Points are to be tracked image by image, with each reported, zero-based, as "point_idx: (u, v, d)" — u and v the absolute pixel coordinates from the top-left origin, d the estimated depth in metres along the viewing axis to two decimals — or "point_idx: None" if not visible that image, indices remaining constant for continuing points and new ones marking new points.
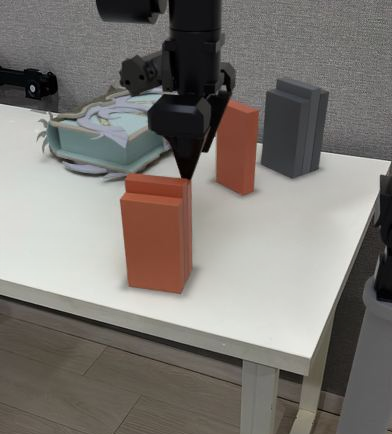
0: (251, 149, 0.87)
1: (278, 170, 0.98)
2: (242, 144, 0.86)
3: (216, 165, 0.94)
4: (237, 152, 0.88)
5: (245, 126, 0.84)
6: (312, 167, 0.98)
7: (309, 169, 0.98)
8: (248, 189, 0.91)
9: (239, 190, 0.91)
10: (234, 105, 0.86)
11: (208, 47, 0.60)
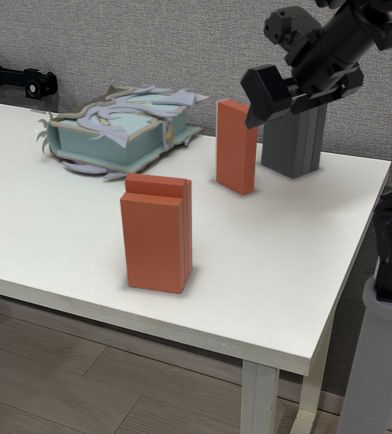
0: (251, 149, 0.87)
1: (278, 170, 0.98)
2: (242, 144, 0.86)
3: (216, 165, 0.94)
4: (237, 152, 0.88)
5: (245, 126, 0.84)
6: (312, 167, 0.98)
7: (309, 169, 0.98)
8: (248, 189, 0.91)
9: (239, 190, 0.91)
10: (234, 105, 0.86)
11: (329, 69, 0.67)
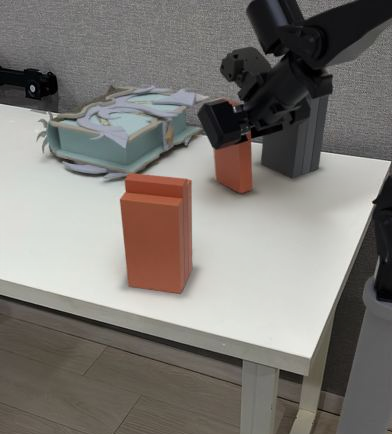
0: (245, 146, 0.87)
1: (278, 170, 0.98)
2: None
3: (215, 165, 0.94)
4: (232, 150, 0.88)
5: None
6: (312, 167, 0.98)
7: (309, 169, 0.98)
8: (246, 187, 0.91)
9: (237, 188, 0.91)
10: None
11: (273, 108, 0.77)
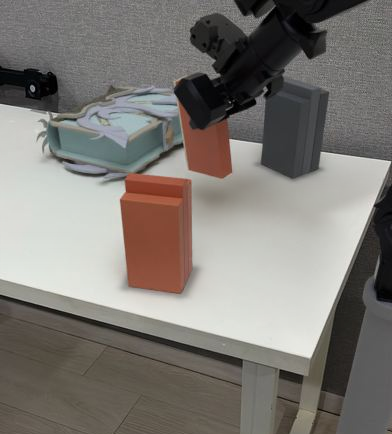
0: (222, 126, 0.78)
1: (278, 170, 0.98)
2: None
3: (186, 153, 0.85)
4: (208, 132, 0.79)
5: None
6: (312, 167, 0.98)
7: (309, 169, 0.98)
8: (226, 171, 0.83)
9: (216, 173, 0.83)
10: None
11: (259, 76, 0.69)
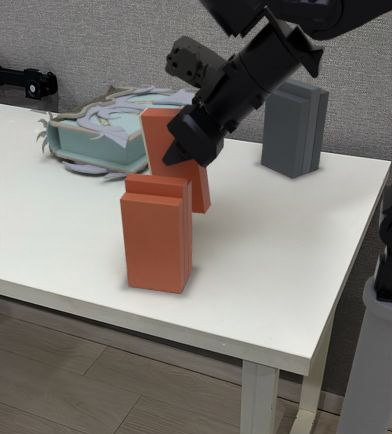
0: None
1: (278, 170, 0.98)
2: None
3: None
4: (186, 167, 0.71)
5: None
6: (312, 167, 0.98)
7: (309, 169, 0.98)
8: (207, 204, 0.75)
9: (197, 209, 0.75)
10: (165, 113, 0.68)
11: (255, 101, 0.63)
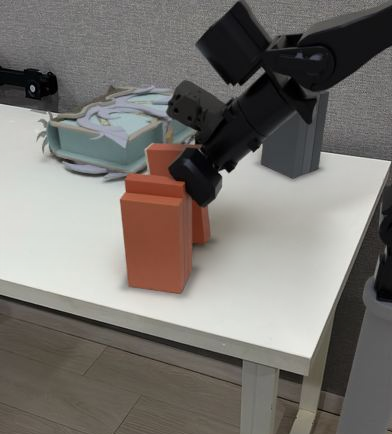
0: None
1: (278, 170, 0.98)
2: None
3: None
4: None
5: None
6: (312, 167, 0.98)
7: (309, 169, 0.98)
8: (207, 235, 0.78)
9: (198, 239, 0.78)
10: (169, 147, 0.72)
11: (252, 144, 0.66)
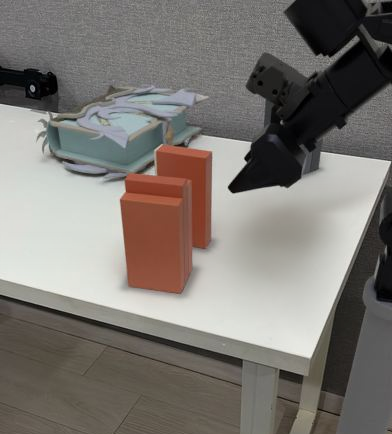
0: (209, 196, 0.75)
1: None
2: (199, 193, 0.73)
3: None
4: (193, 203, 0.75)
5: (203, 173, 0.71)
6: (312, 167, 0.98)
7: (309, 169, 0.98)
8: (208, 240, 0.79)
9: (198, 243, 0.78)
10: (179, 151, 0.72)
11: (339, 120, 0.61)
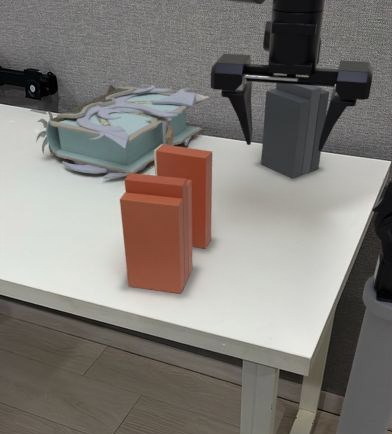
0: (209, 196, 0.75)
1: (278, 170, 0.98)
2: (199, 193, 0.73)
3: None
4: (193, 203, 0.75)
5: (203, 173, 0.71)
6: (312, 167, 0.98)
7: (309, 169, 0.98)
8: (208, 240, 0.79)
9: (198, 243, 0.78)
10: (179, 151, 0.72)
11: None
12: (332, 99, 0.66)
